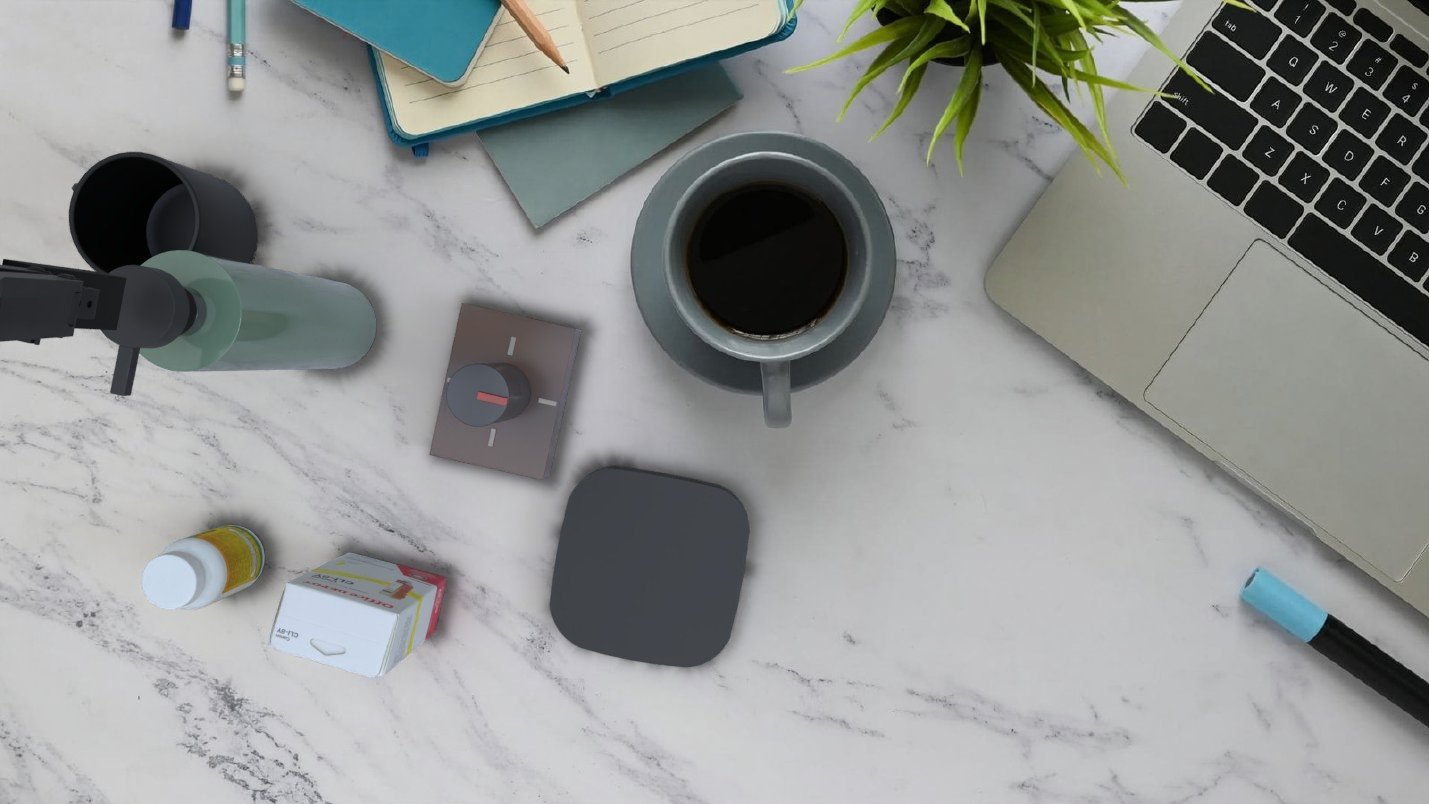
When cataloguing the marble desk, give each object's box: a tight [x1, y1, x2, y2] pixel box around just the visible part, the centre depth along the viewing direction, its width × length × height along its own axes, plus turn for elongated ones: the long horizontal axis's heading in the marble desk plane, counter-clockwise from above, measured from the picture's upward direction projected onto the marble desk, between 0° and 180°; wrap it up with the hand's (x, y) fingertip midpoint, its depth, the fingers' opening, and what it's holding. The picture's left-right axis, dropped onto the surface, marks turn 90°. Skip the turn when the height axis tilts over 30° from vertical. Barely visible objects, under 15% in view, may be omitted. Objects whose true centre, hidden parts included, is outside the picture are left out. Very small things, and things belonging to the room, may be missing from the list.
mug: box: [68, 151, 259, 274], centre depth 74 cm, size 9×12×9 cm
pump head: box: [100, 265, 189, 397], centre depth 53 cm, size 7×4×2 cm, turn 167°
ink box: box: [267, 551, 448, 679], centre depth 74 cm, size 9×5×12 cm, turn 74°
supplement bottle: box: [140, 524, 266, 611], centre depth 75 cm, size 5×5×10 cm
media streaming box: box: [549, 465, 751, 668], centre depth 78 cm, size 15×15×3 cm
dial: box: [446, 363, 530, 427], centre depth 72 cm, size 4×4×8 cm
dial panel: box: [429, 302, 582, 481], centre depth 77 cm, size 12×9×3 cm
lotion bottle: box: [139, 250, 377, 373], centre depth 67 cm, size 7×7×23 cm
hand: (107, 301), depth 50 cm, fingers closed
